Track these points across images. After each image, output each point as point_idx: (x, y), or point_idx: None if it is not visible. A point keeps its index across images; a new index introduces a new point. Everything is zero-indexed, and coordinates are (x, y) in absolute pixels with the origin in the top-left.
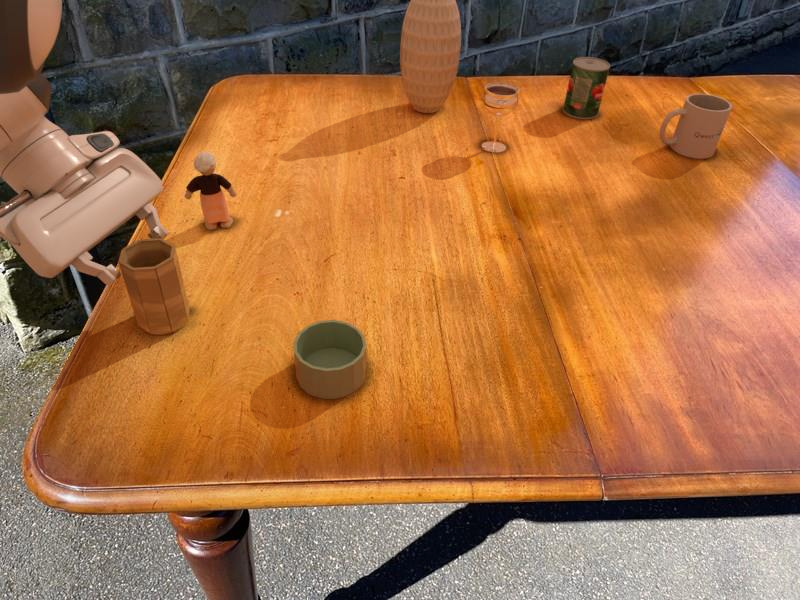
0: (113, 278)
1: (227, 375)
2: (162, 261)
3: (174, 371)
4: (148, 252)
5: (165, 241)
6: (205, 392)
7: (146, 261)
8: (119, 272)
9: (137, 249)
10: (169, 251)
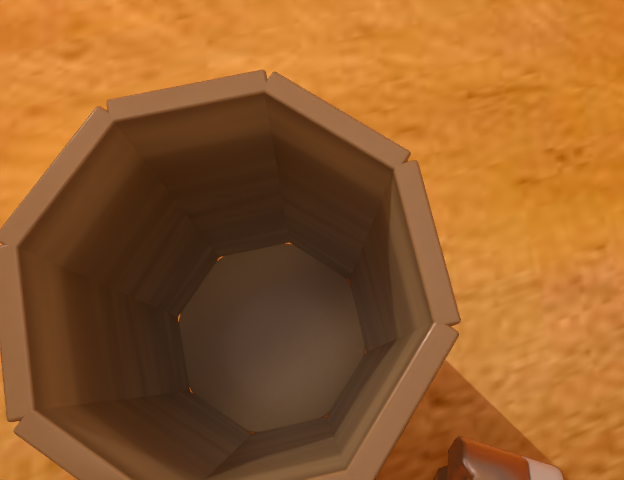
0: (546, 466)
1: (532, 38)
2: (101, 297)
3: (543, 212)
4: (78, 368)
5: (43, 189)
6: (618, 86)
7: (111, 397)
8: (468, 444)
9: (100, 431)
10: (109, 183)
